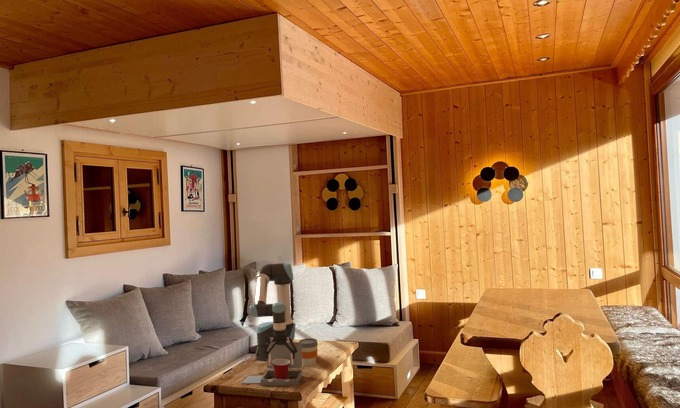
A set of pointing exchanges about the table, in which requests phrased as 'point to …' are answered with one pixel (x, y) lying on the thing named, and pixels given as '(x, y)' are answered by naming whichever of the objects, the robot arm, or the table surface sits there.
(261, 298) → the robot arm
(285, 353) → the lid
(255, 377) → the mat
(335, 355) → the table surface
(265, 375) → the case
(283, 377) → the plastic cup
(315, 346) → the reusable coffee cup
